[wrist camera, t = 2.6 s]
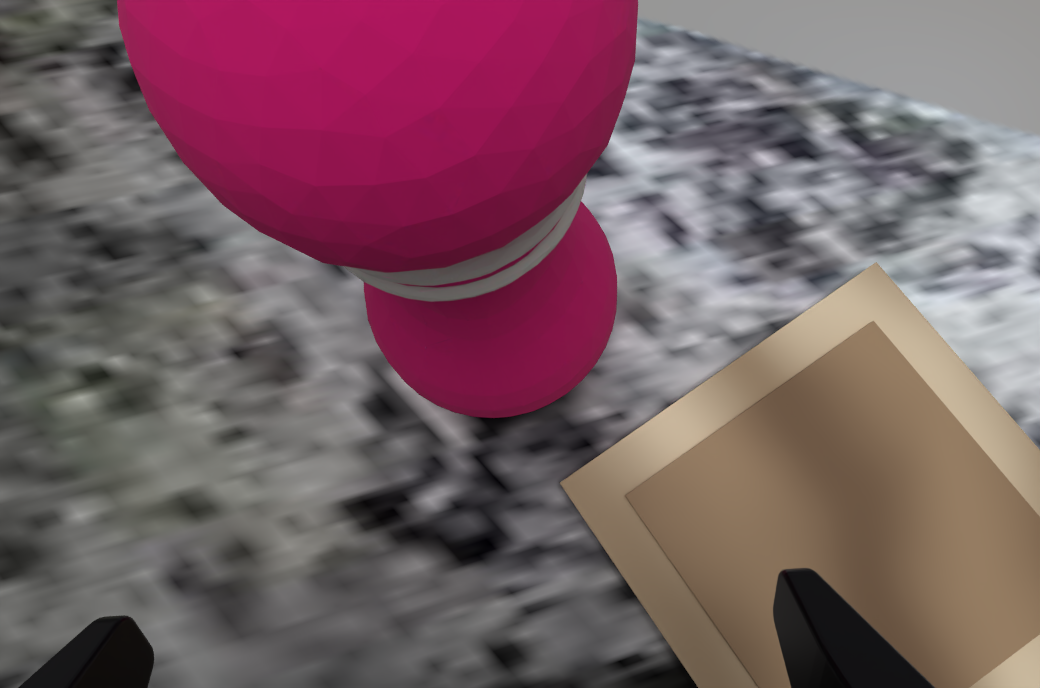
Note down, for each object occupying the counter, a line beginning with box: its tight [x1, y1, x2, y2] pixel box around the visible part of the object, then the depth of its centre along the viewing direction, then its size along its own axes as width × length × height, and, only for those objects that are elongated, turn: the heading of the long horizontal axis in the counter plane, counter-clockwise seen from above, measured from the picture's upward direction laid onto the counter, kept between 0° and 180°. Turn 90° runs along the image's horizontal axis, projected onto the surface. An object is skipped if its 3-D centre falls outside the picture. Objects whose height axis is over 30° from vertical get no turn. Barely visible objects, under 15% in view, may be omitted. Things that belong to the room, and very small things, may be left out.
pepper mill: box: [117, 0, 638, 418], centre depth 14 cm, size 7×7×20 cm
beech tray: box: [560, 262, 1040, 688], centre depth 21 cm, size 13×13×1 cm
